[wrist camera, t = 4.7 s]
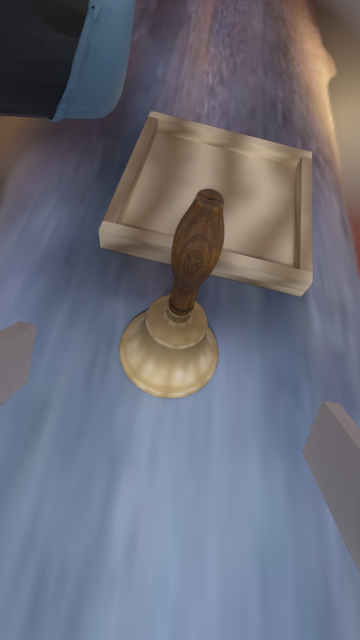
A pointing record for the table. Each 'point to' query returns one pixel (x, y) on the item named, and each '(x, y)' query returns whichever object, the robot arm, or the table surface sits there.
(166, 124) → the tray
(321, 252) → the table surface
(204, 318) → the hand bell
